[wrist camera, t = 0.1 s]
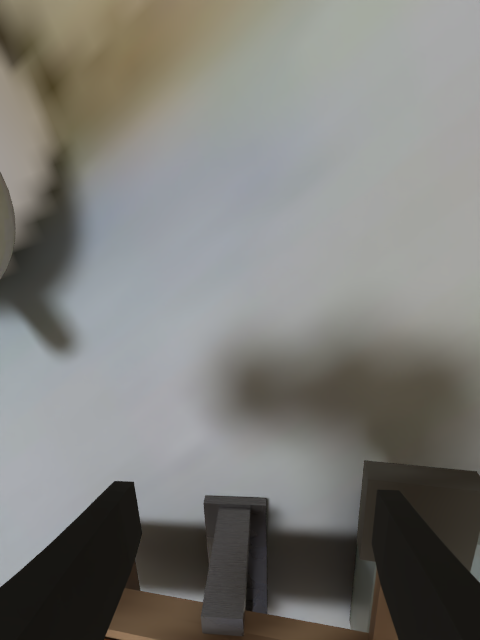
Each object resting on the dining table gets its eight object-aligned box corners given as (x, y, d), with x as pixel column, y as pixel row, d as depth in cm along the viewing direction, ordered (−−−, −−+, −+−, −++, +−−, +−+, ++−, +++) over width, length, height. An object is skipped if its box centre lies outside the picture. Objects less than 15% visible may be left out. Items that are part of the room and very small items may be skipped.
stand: (266, 498, 23) (264, 617, 16) (267, 605, 26) (266, 741, 20) (205, 495, 23) (179, 611, 17) (213, 601, 27) (194, 734, 20)
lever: (453, 433, 15) (515, 535, 11) (407, 677, 21) (436, 816, 16) (62, 401, 19) (-19, 468, 14) (108, 617, 24) (60, 716, 20)
